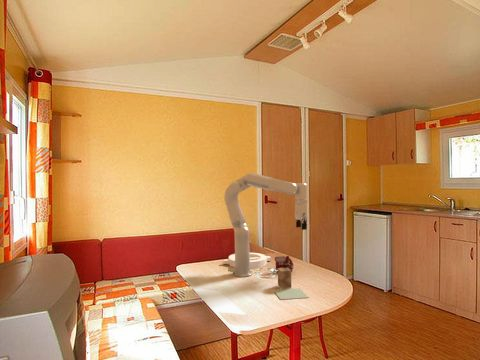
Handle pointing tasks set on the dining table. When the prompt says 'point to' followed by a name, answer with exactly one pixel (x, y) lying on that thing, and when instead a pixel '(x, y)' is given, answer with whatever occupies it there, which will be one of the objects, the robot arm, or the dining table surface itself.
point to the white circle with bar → (255, 260)
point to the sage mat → (290, 294)
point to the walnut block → (284, 278)
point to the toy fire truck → (283, 262)
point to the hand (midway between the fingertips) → (301, 228)
